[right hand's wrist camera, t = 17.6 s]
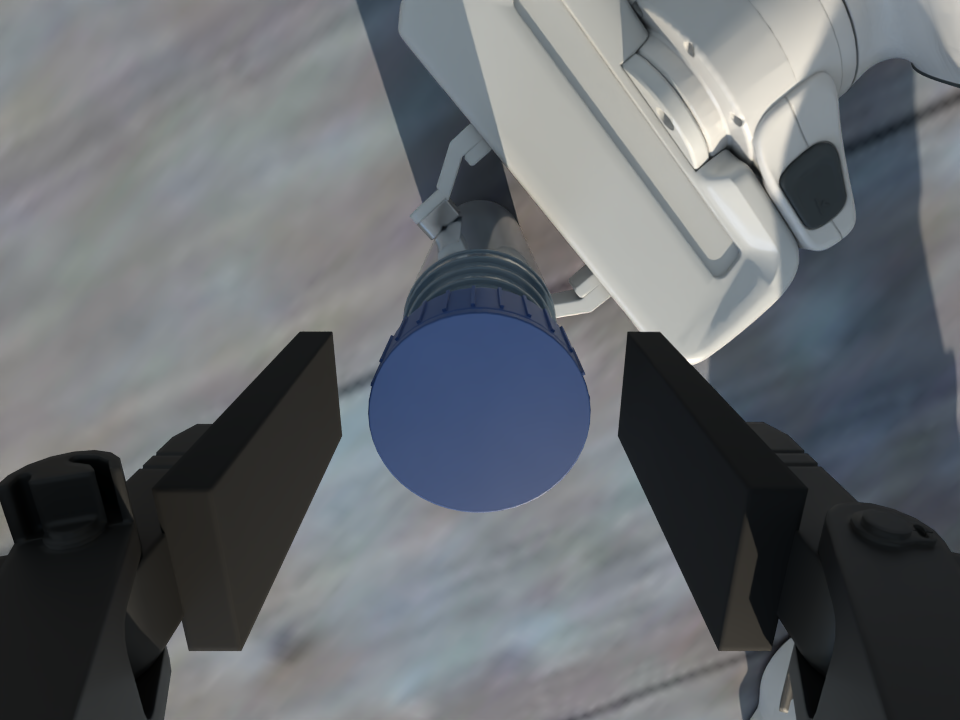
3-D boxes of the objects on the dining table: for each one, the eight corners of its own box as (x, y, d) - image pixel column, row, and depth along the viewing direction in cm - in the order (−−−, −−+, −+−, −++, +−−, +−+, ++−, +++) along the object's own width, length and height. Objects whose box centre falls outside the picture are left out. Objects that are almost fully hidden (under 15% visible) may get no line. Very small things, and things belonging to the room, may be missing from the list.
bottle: (420, 245, 33) (322, 413, 13) (478, 180, 32) (474, 251, 11) (481, 301, 34) (483, 539, 14) (540, 241, 33) (637, 404, 13)
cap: (506, 495, 15) (510, 549, 13) (346, 406, 14) (325, 449, 12) (616, 352, 14) (639, 388, 12) (447, 244, 13) (441, 263, 11)
